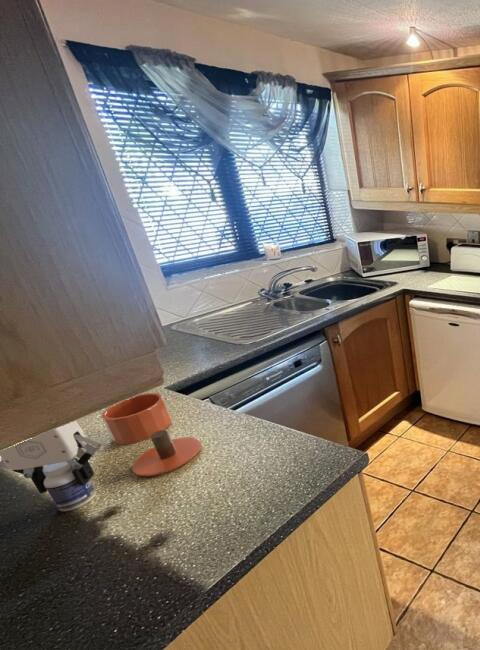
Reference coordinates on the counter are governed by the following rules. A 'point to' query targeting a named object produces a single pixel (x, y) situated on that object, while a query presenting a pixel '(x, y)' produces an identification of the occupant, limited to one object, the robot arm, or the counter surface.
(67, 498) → the pill bottle
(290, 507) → the counter surface
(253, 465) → the counter surface
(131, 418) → the pot
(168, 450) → the lid
